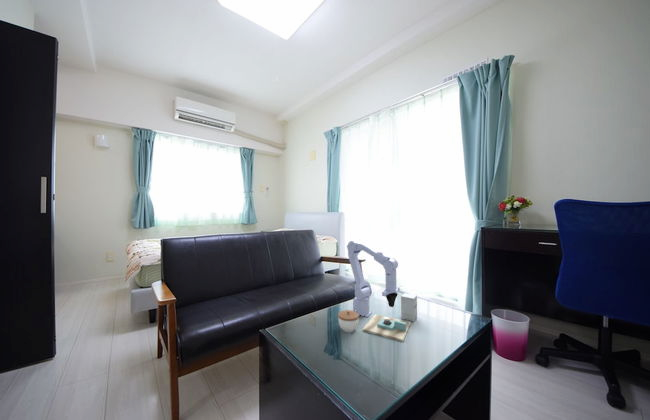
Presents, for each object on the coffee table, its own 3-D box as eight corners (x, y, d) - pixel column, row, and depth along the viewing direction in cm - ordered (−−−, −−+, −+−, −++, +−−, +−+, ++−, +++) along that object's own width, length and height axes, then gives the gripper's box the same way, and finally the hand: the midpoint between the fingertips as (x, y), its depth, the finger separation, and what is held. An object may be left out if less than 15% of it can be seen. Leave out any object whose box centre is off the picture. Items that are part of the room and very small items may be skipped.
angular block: (377, 326, 116) (377, 319, 117) (382, 320, 123) (382, 314, 123) (403, 333, 109) (403, 326, 109) (407, 327, 116) (407, 320, 116)
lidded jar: (358, 335, 109) (358, 316, 110) (336, 333, 111) (336, 314, 112) (359, 325, 120) (359, 307, 120) (339, 323, 122) (339, 306, 122)
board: (362, 331, 114) (362, 323, 114) (374, 316, 131) (374, 309, 131) (403, 341, 104) (403, 333, 104) (410, 324, 121) (410, 316, 121)
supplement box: (414, 321, 124) (413, 298, 124) (400, 318, 128) (400, 296, 129) (417, 317, 130) (417, 295, 130) (404, 313, 134) (404, 292, 135)
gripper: (390, 285, 114) (390, 312, 114) (404, 280, 124) (404, 305, 124) (378, 282, 120) (378, 308, 119) (393, 277, 129) (393, 301, 129)
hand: (391, 306), depth 122 cm, fingers closed
